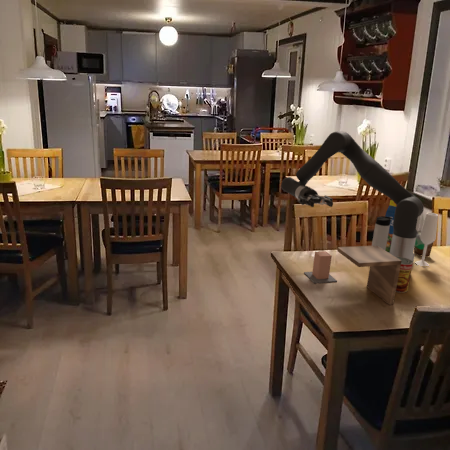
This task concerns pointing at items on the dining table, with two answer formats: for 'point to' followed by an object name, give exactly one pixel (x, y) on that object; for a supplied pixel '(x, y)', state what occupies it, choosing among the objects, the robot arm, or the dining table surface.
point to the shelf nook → (376, 269)
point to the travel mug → (381, 232)
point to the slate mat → (315, 280)
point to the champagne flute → (428, 234)
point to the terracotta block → (321, 265)
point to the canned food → (404, 274)
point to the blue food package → (390, 213)
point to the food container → (421, 246)
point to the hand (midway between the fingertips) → (322, 204)
